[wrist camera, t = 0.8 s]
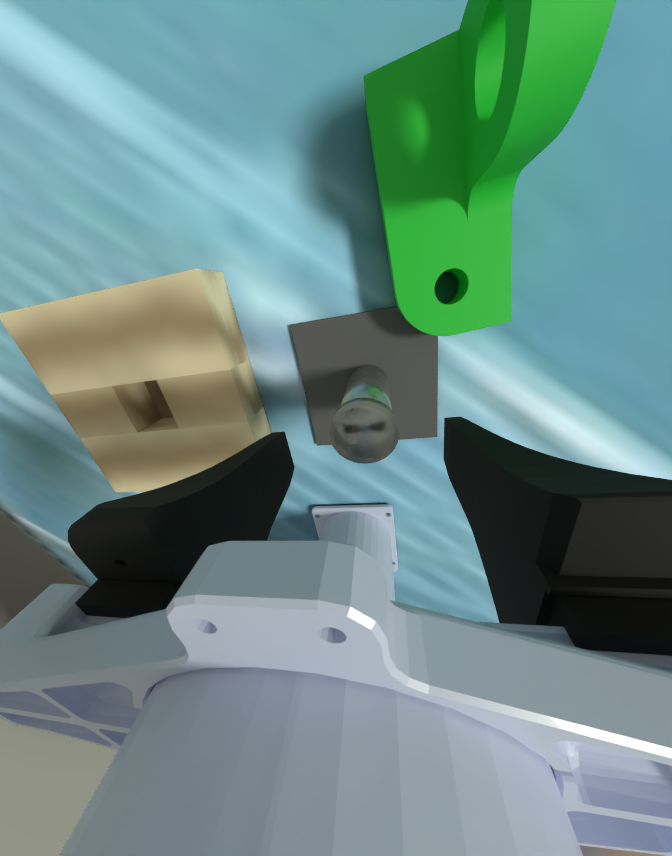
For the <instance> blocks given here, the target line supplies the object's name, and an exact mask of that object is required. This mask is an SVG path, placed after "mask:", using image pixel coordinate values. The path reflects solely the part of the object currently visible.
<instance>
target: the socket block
mask: <svg viewBox="0 0 672 856" xmlns="http://www.w3.org/2000/svg"><path fill="white" fill-rule="evenodd" d="M0 320H1V321H2V323H3V324H4V326H5V327H6V329H7V330H8V332H9V333H10V335H11V336H12V338H13V339H14V341H15V342H16V344H17V345H18V347H19V348H20V350H21V351H22V353H23V354H24V356H25V357H26V359H27V360H28V362H29V363H30V365H31V366H32V368H33V369H34V371H35V372H36V374H37V375H38V377H39V378H40V380H41V381H42V383H43V384H44V386H45V387H46V389H47V390H48V392H49V393H50V395H51V396H52V398H53V399H54V401H55V402H56V404H57V405H58V407H59V408H60V410H61V411H62V413H63V414H64V416H65V417H66V419H67V420H68V422H69V423H70V424H71V426H72V427H73V429H74V430H75V432H76V433H77V435H78V436H79V438H80V439H81V441H82V442H83V444H84V445H85V447H86V448H87V450H88V451H89V453H90V454H91V456H92V457H93V459H94V460H95V462H96V463H97V465H98V466H99V468H100V469H101V471H102V472H103V474H104V475H105V477H106V478H107V480H108V481H109V483H110V484H111V486H112V487H113V489H114V490H115V492H133V491H150V490H153V489H157V488H160V487H163V486H166V485H169V484H172V483H174V482H177V481H179V480H182V479H184V478H187V477H190V476H192V475H195V474H197V473H199V472H201V471H204V470H206V469H208V468H210V467H212V466H214V465H216V464H218V463H220V462H222V461H224V460H225V459H227V458H229V457H231V456H232V455H234V454H236V453H238V452H239V451H241V450H243V449H244V448H246V447H248V446H249V445H251V444H253V443H254V442H256V441H258V440H259V439H261V438H263V437H265V436H266V435H268V434H271V430H270V427H269V423H268V420H267V417H266V414H265V410H264V407H263V404H262V400H261V397H260V394H259V391H258V387H257V384H256V381H255V377H254V374H253V371H252V368H251V364H250V361H249V358H248V354H247V351H246V348H245V344H244V341H243V338H242V335H241V331H240V328H239V325H238V321H237V318H236V315H235V312H234V308H233V305H232V302H231V298H230V295H229V292H228V289H227V285H226V282H225V279H224V275H223V272H218V271H210V270H202V269H193V270H188V271H184V272H179V273H175V274H171V275H166V276H162V277H158V278H153V279H149V280H144V281H140V282H136V283H131V284H127V285H123V286H118V287H114V288H109V289H105V290H101V291H96V292H92V293H88V294H83V295H79V296H74V297H70V298H66V299H61V300H57V301H53V302H48V303H44V304H39V305H35V306H31V307H26V308H22V309H18V310H13V311H9V312H4V313H0Z"/></svg>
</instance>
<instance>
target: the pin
mask: <svg viewBox="0 0 672 856" xmlns="http://www.w3.org/2000/svg"><path fill="white" fill-rule="evenodd" d="M329 436H330V440H331V443H332V445H333V447H334V448H335V450H336V451H337V452H338V453H339V454H340V455H341V456H343V457H344V458H346V459H348V460H350V461H353V462H356V463H373V462H377V461H380V460H382V459H384V458H385V457H387V456H388V455H389V454H390V453H391V452H392V451H393V450H394V449H395V447H396V445H397V442H398V439H399V428H398V422H397V419H396V417H395V414H394V413H393V411H392V407H391V400H390V392H389V384H388V378H387V376H386V374H385V372H384V371H383V370H382V369H381V368H379V367H377V366H375V365H370V364H368V365H362V366H360V367H358V368H356V369H355V370H354V371H353V372H352V374H351V375H350V377H349V381H348V384H347V387H346V390H345V393H344V396H343V400H342V403H341V406H340V407H339V408H338V409H337V411H336V412H335V414H334V416H333V418H332V421H331V424H330V428H329Z"/></svg>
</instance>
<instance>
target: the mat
mask: <svg viewBox="0 0 672 856" xmlns="http://www.w3.org/2000/svg"><path fill="white" fill-rule="evenodd" d="M290 327H291V331H292V336H293V340H294V345H295V349H296V353H297V358H298V362H299V367H300V371H301V376H302V380H303V385H304V389H305V394H306V398H307V403H308V407H309V412H310V416H311V420H312V425H313V429H314V434H315V438H316V443H317V446H318V445H332V443H331V440H330V436H329V428H330V424H331V421H332V418H333V416H334V414H335V412H336V411H337V409H338V408H339V407H340V406H341V403H342V400H343V396H344V393H345V390H346V387H347V384H348V381H349V377H350V375H351V374H352V372H353V371H354V370H355V369H356V368H358V367H360V366H362V365H368V364H370V365H375V366H377V367H379V368H381V369H382V370H383V371H384V372H385V374H386V376H387V378H388V384H389V392H390V400H391V407H392V411H393V413H394V414H395V417H396V419H397V422H398V428H399V439H398V440H400V439H414V438H427V437H437V385H438V336H436V335H430V334H427V333H424V332H422V331H420V330H418V329H417V328H415V327H414V326H412V325H411V324H410V323H408V322H407V321H406V320H405V319H404V317H403V316H402V315H401V313H400V311H399V310H398V307H392V308H386V309H380V310H375V311H369V312H363V313H357V314H351V315H345V316H339V317H333V318H327V319H321V320H315V321H309V322H303V323H297V324H291V325H290Z"/></svg>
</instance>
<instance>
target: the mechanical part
mask: <svg viewBox="0 0 672 856" xmlns="http://www.w3.org/2000/svg"><path fill="white" fill-rule="evenodd" d="M615 2H616V0H468V2H467V6H466V9H465V12H464V15H463V19H462V22H461V25H460V29H459V30H458V31H456V32H453V33H451V34H449V35H447V36H445V37H443V38H441V39H439V40H437V41H435V42H433V43H431V44H429V45H427V46H424V47H422V48H420V49H418V50H416V51H414V52H412V53H410V54H408V55H406V56H404V57H402V58H400V59H398V60H395V61H393V62H391V63H389V64H387V65H385V66H383V67H381V68H379V69H377V70H375V71H373V72H371V73H369V74H367V75H364V88H365V105H366V112H367V119H368V125H369V132H370V139H371V145H372V152H373V159H374V165H375V172H376V179H377V185H378V192H379V199H380V205H381V212H382V219H383V225H384V232H385V239H386V245H387V252H388V259H389V265H390V272H391V279H392V285H393V292H394V298H395V302H396V305H397V307H398V310H399V311H400V313H401V315H402V316H403V317H404V319H405V320H406V321H407V322H408V323H410V324H411V325H412V326H414V327H415V328H417V329H418V330H420V331H422V332H424V333H427V334H430V335H436V336H449V335H455V334H459V333H463V332H468V331H472V330H476V329H481V328H485V327H489V326H493V325H498V324H502V323H506V322H510V321H511V220H512V197H513V192H514V187H515V184H516V181H517V178H518V176H519V174H520V172H521V170H522V169H523V168H524V167H525V166H526V165H527V164H528V163H529V162H530V161H532V160H533V159H534V158H535V157H536V156H537V155H538V154H539V153H540V152H541V151H542V150H544V149H545V148H546V147H547V146H548V145H549V144H550V143H551V142H552V141H553V140H554V139H555V138H556V137H557V136H558V135H559V133H560V132H561V131H562V130H563V128H564V127H565V125H566V124H567V122H568V121H569V119H570V117H571V116H572V114H573V112H574V110H575V109H576V107H577V105H578V103H579V101H580V99H581V97H582V95H583V93H584V91H585V88H586V86H587V84H588V81H589V79H590V77H591V74H592V72H593V69H594V67H595V64H596V62H597V59H598V56H599V54H600V51H601V48H602V45H603V42H604V39H605V36H606V33H607V30H608V27H609V23H610V20H611V16H612V13H613V9H614V6H615ZM443 272H450V273H453V274H454V275H455V276H456V277H457V279H458V283H459V288H458V292H457V294H456V296H455V297H454V298H453V299H452V300H451V301H450V302H448V303H446V304H443V303H441V302H440V301H439V300H438V299H437V298H436V296H435V291H434V290H435V283H436V281H437V279H438V277H439V276H440V275H441V274H442V273H443Z"/></svg>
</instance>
